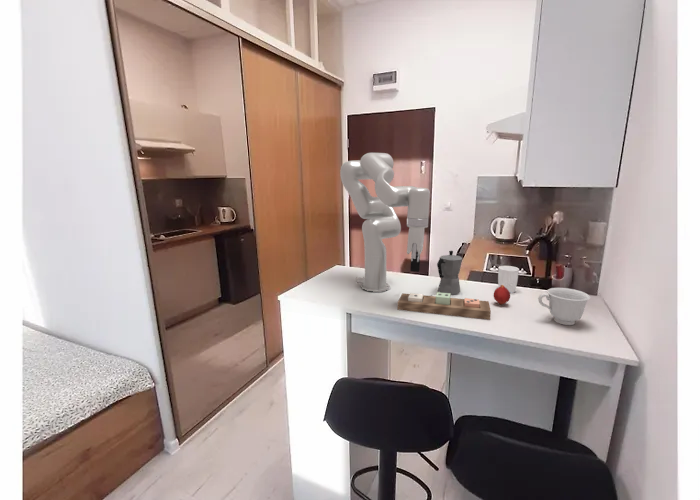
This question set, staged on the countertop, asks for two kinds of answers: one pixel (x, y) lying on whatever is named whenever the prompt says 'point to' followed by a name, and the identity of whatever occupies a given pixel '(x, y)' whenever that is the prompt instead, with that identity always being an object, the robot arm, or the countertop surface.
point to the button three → (471, 303)
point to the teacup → (565, 304)
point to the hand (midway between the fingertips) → (414, 270)
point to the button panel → (445, 307)
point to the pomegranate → (501, 295)
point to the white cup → (508, 277)
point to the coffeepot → (449, 273)
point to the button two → (443, 298)
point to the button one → (415, 297)
